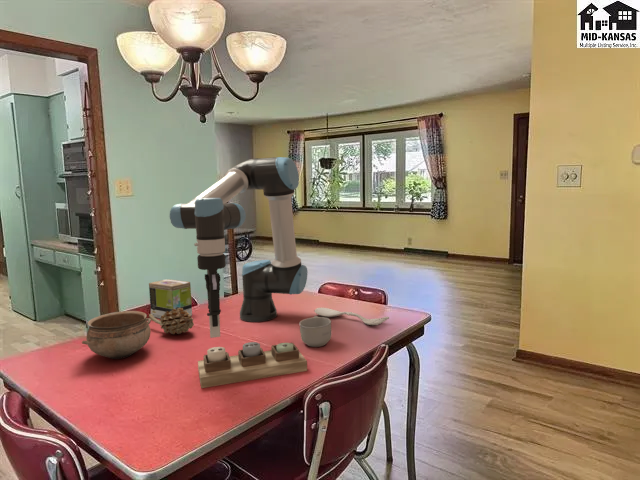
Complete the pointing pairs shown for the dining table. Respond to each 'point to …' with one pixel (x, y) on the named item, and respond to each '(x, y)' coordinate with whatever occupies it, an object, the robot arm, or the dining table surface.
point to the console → (250, 367)
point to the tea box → (169, 296)
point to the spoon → (331, 313)
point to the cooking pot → (118, 333)
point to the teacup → (315, 331)
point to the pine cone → (175, 321)
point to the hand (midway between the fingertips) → (215, 336)
